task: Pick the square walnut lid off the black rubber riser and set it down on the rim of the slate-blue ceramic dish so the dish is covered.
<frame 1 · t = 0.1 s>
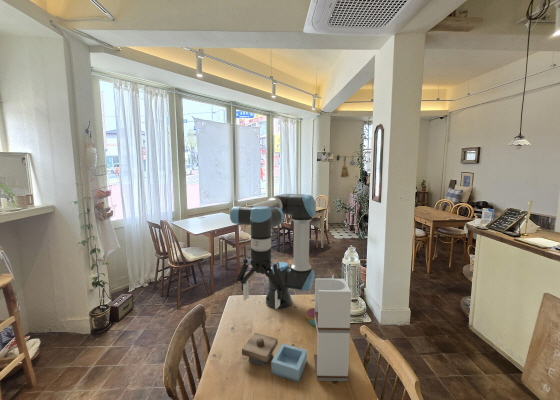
hand: (261, 302, 93), 28 cm above the table, fingers open, 13 cm apart
lid: (260, 349, 102), point 4 cm above the table, touching riser
dish: (289, 367, 98), on the table
riser: (260, 357, 103), on the table
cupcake: (314, 323, 126), on the table
white stacked pedestal: (329, 369, 97), on the table
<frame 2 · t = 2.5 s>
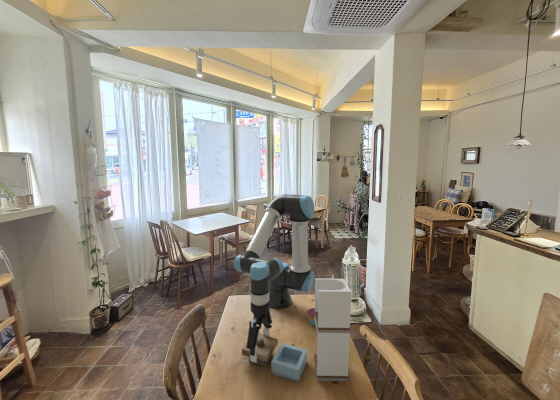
hand: (260, 351, 102), 3 cm above the table, fingers closed on lid, 11 cm apart
lid: (260, 349, 102), point 4 cm above the table, touching gripper, riser
everything else where it was.
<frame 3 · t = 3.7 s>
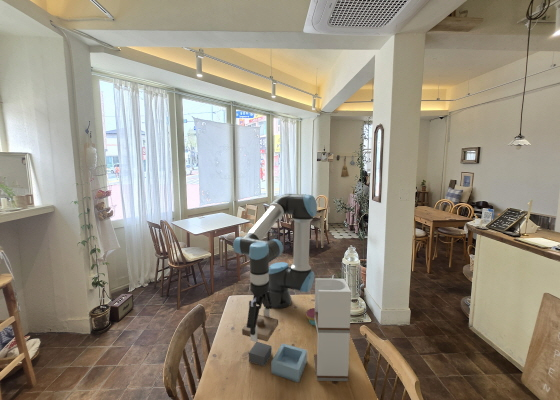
hand: (260, 331, 102), 12 cm above the table, fingers closed on lid, 11 cm apart
lid: (260, 329, 102), point 12 cm above the table, touching gripper
everything else where it was.
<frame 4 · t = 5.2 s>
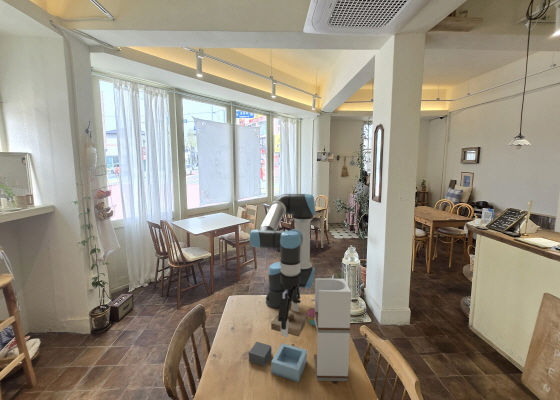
hand: (289, 326, 96), 17 cm above the table, fingers closed on lid, 11 cm apart
lid: (289, 324, 96), point 18 cm above the table, touching gripper
everything else where it was.
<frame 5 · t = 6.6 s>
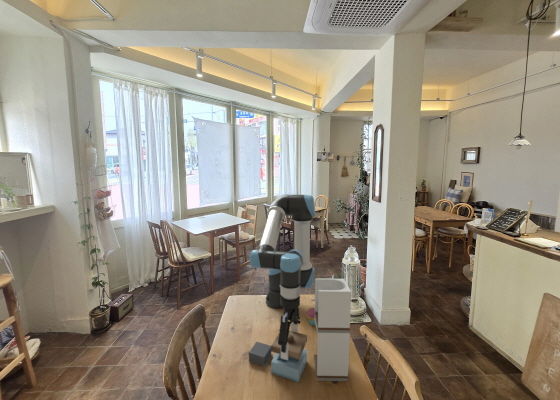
hand: (289, 348, 97), 8 cm above the table, fingers closed on lid, 11 cm apart
lid: (289, 345, 97), point 9 cm above the table, touching gripper
everything else where it was.
when the fingers open (5 cm above the table, at t = 7.8 s): lid drops 1 cm, resting on dish.
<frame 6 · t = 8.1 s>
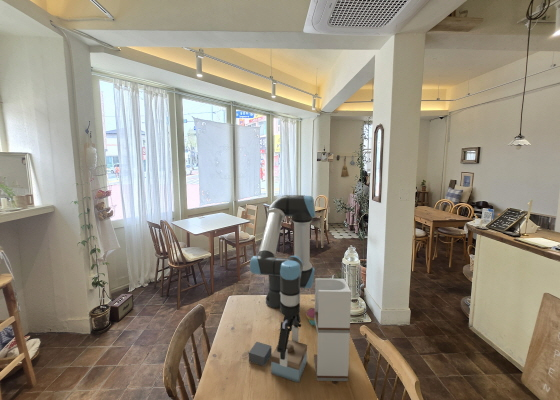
hand: (289, 352, 97), 6 cm above the table, fingers open, 13 cm apart
lid: (289, 355, 97), point 5 cm above the table, touching dish
everything else where it was.
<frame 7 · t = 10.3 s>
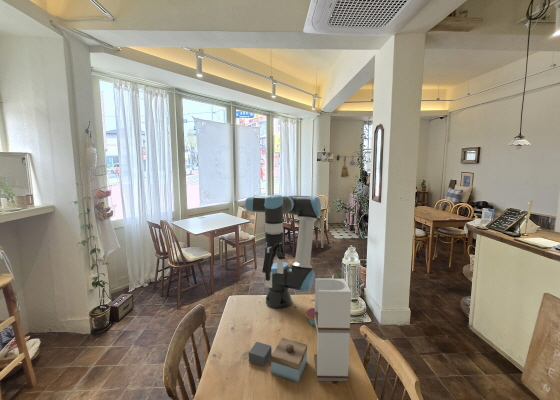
hand: (274, 279, 106), 31 cm above the table, fingers open, 13 cm apart
nothing on the table moved.
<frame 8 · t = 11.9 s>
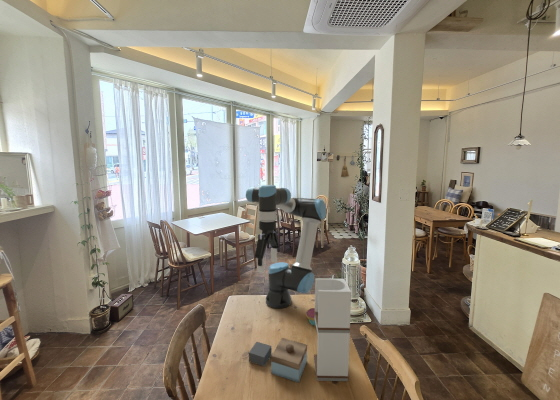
hand: (267, 266, 110), 35 cm above the table, fingers open, 13 cm apart
nothing on the table moved.
at the end: lid 0.0 cm off-centre on the dish, point 5.0 cm above the dish's base; lid tilted 0°; the gripper is holding nothing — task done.
